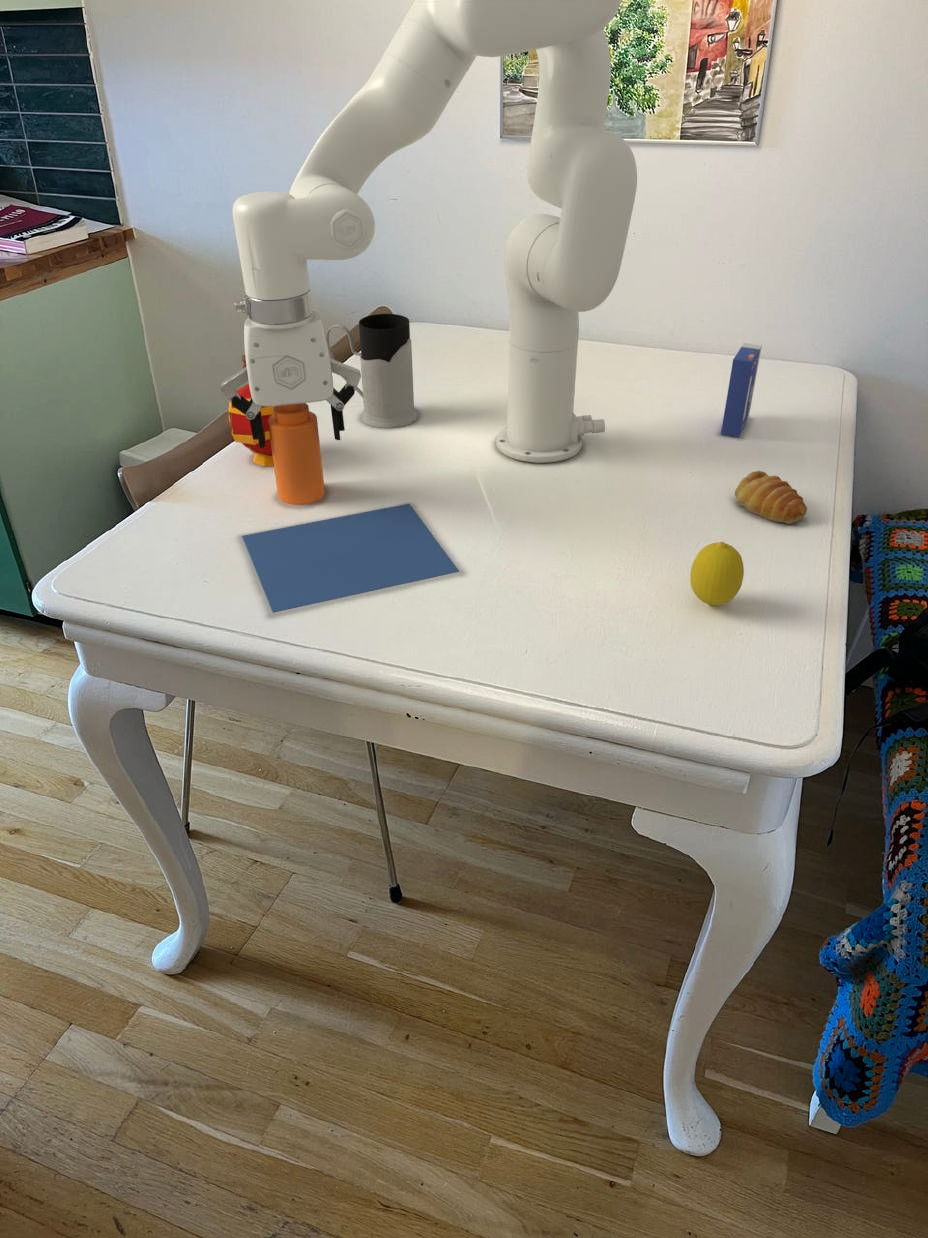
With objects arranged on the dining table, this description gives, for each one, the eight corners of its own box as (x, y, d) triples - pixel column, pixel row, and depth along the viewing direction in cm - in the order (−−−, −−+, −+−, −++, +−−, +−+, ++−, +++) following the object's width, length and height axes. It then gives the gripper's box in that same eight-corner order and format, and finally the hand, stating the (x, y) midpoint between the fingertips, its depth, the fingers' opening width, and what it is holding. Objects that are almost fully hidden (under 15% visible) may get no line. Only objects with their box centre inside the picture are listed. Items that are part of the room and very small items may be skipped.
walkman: (739, 438, 138) (753, 359, 131) (720, 434, 139) (733, 356, 132) (749, 418, 144) (763, 342, 137) (731, 415, 145) (744, 339, 138)
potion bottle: (292, 477, 128) (279, 372, 120) (223, 470, 130) (205, 367, 121) (317, 445, 137) (306, 345, 128) (251, 440, 138) (236, 341, 130)
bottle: (323, 483, 127) (311, 365, 117) (326, 504, 122) (313, 383, 112) (278, 487, 126) (261, 368, 116) (278, 508, 121) (261, 386, 111)
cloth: (409, 505, 121) (409, 503, 121) (459, 573, 108) (459, 571, 108) (242, 537, 115) (241, 535, 115) (273, 614, 101) (272, 612, 101)
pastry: (818, 518, 118) (824, 491, 116) (780, 532, 115) (786, 505, 113) (763, 489, 124) (768, 463, 122) (726, 502, 122) (730, 476, 119)
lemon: (679, 592, 104) (689, 531, 100) (727, 590, 105) (739, 528, 100) (694, 621, 100) (704, 557, 95) (744, 618, 100) (757, 555, 95)
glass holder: (405, 430, 141) (400, 333, 132) (320, 419, 145) (310, 323, 136) (425, 409, 148) (422, 315, 139) (344, 399, 151) (336, 306, 143)
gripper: (204, 323, 105) (231, 459, 116) (355, 310, 108) (369, 445, 118) (208, 303, 111) (233, 434, 122) (350, 291, 114) (364, 421, 124)
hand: (300, 439), depth 120 cm, fingers open, 9 cm apart
